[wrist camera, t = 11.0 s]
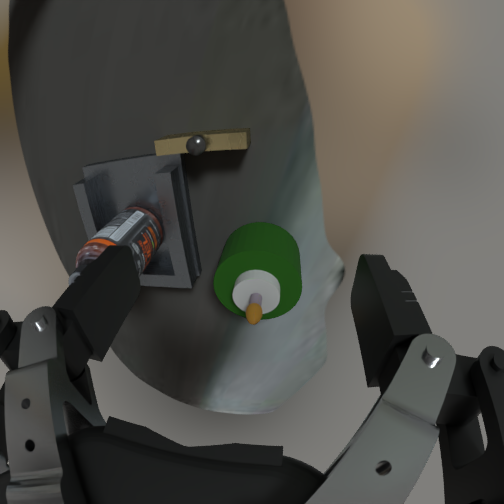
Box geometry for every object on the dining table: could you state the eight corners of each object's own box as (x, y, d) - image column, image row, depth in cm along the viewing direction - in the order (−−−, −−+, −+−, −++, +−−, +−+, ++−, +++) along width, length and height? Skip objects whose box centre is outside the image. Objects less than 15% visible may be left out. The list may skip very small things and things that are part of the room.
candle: (223, 281, 33) (204, 347, 25) (225, 217, 29) (200, 276, 20) (292, 290, 33) (293, 358, 24) (305, 227, 28) (314, 290, 20)
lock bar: (166, 134, 24) (149, 142, 21) (249, 127, 24) (244, 132, 20) (168, 149, 25) (152, 159, 22) (250, 143, 24) (245, 152, 21)
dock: (87, 164, 27) (69, 174, 24) (183, 150, 25) (170, 158, 22) (116, 268, 34) (103, 284, 31) (201, 270, 33) (194, 289, 30)
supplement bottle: (169, 253, 30) (127, 325, 21) (124, 252, 31) (75, 317, 21) (159, 202, 27) (102, 265, 18) (112, 205, 28) (49, 262, 18)
